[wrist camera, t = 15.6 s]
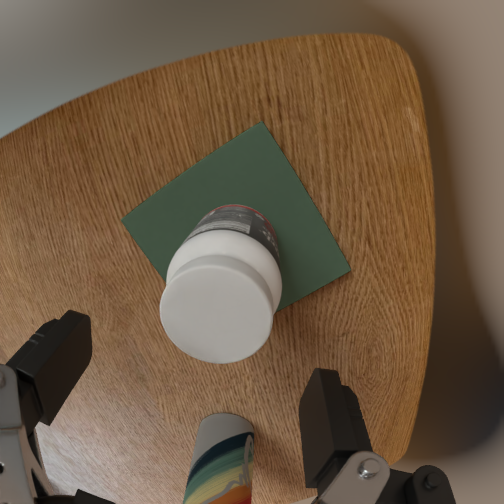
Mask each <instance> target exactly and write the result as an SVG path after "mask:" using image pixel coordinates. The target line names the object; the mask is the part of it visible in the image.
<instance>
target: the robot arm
mask: <svg viewBox="0 0 504 504" xmlns="http://www.w3.org/2000/svg"><path fill="white" fill-rule="evenodd" d="M91 357H92V337H91V321H90V317H89V316H88V315H85V314H82V313H79V312H76V311H73V310H68V311H67V312H66V313H65V314H64V315H63V316H62V317H61V318H60V319H59V320H57V319H53V320H51V321H49V322H47V323H45V324H43V325H42V326H41V327H40V328H39V329H38V330H37V331H36V332H35V334H33V335H32V336H31V337H30V338H29V341H27V342H26V343H25V344H24V345H23V346H22V347H21V348H20V349H19V350H18V351H17V352H16V353H15V354H14V356H13V357H12V358H11V359H10V360H9V361H8V362H7V363H6V364H5V365H4V364H0V504H115V503H114V502H111V501H108V500H106V499H103V498H100V497H97V496H95V495H92V494H90V493H87V492H85V491H82V490H80V489H78V490H77V492H76V494H75V496H70V495H54V492H53V489H52V487H51V485H50V482H49V480H48V477H47V475H46V471H45V468H44V464H43V460H42V456H41V451H40V447H39V443H38V438H37V433H36V429H35V427H36V425H37V423H38V422H39V421H40V422H42V423H44V424H46V425H48V426H50V425H51V423H52V421H53V420H54V418H55V416H56V415H57V413H58V412H59V410H60V408H61V407H62V405H63V404H64V402H65V400H66V399H67V397H68V396H69V394H70V392H71V391H72V389H73V388H74V386H75V385H76V383H77V382H78V380H79V379H80V377H81V375H82V374H83V372H84V371H85V369H86V368H87V366H88V365H89V363H90V360H91ZM362 417H363V416H362V412H361V410H360V406H359V403H358V399H357V396H356V395H355V394H354V393H353V391H352V390H351V389H350V388H349V386H345V385H341V381H340V377H339V374H338V372H337V371H336V370H329V369H321V368H315V369H314V371H313V373H312V375H311V377H310V380H309V382H308V384H307V386H306V388H305V391H304V393H303V395H302V397H301V400H300V404H299V422H300V432H301V441H302V451H303V462H304V472H305V483H306V488H317V492H318V496H317V497H316V498H315V499H314V500H313V502H312V503H311V504H456V502H455V499H454V496H453V493H452V490H451V487H450V484H449V481H448V478H447V476H446V475H445V474H444V472H443V471H442V470H440V469H439V468H437V467H435V466H431V465H425V466H422V467H420V468H418V469H417V470H416V471H415V472H414V473H413V474H412V473H407V472H402V471H398V470H393V469H390V468H389V465H388V463H387V462H386V460H385V459H384V458H383V457H381V456H380V455H378V454H376V453H374V452H373V450H372V446H371V443H370V439H369V436H368V432H367V429H366V426H365V422H364V419H362Z"/></svg>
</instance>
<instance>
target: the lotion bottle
mask: <svg viewBox="0 0 504 504" xmlns="http://www.w3.org/2000/svg"><path fill="white" fill-rule="evenodd" d="M253 455H254V430H253V427H252V425H251V424H250V423H249V422H248V421H247V420H246V419H244V418H242V417H240V416H237V415H234V414H228V413H218V414H213V415H210V416H208V417H206V418H204V419H203V420H202V422H201V424H200V426H199V429H198V433H197V438H196V442H195V447H194V452H193V457H192V461H191V466H190V471H189V476H188V481H187V486H186V490H185V495H184V500H183V504H251V497H252V476H253Z"/></svg>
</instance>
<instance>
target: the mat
mask: <svg viewBox="0 0 504 504" xmlns="http://www.w3.org/2000/svg"><path fill="white" fill-rule="evenodd" d="M225 205H243V206H247V207H250V208H252V209H254V210H256V211H258V212H259V213H261V214H262V215H263V216H264V217H265V218H266V219H267V220H268V221H269V222H270V224H271V225H272V227H273V229H274V231H275V234H276V237H277V242H278V250H279V259H280V269H281V278H282V292H281V298H280V302H279V305H278V307H277V309H276V311H275V312H277V311H279V310H281V309H283V308H285V307H287V306H288V305H290V304H292V303H294V302H296V301H298V300H300V299H301V298H303V297H305V296H307V295H309V294H310V293H312V292H314V291H316V290H318V289H319V288H321V287H323V286H325V285H326V284H328V283H330V282H332V281H334V280H335V279H337V278H339V277H341V276H342V275H344V274H346V273H347V272H349V271H351V268H350V266H349V264H348V263H347V261H346V259H345V257H344V255H343V253H342V252H341V250H340V248H339V246H338V244H337V243H336V241H335V239H334V237H333V235H332V234H331V232H330V230H329V228H328V227H327V225H326V223H325V221H324V220H323V218H322V216H321V214H320V213H319V211H318V209H317V208H316V206H315V204H314V203H313V201H312V199H311V197H310V196H309V194H308V192H307V191H306V189H305V188H304V186H303V184H302V183H301V181H300V179H299V178H298V176H297V174H296V173H295V171H294V170H293V168H292V166H291V165H290V163H289V162H288V160H287V158H286V157H285V155H284V154H283V152H282V151H281V149H280V147H279V146H278V144H277V143H276V141H275V140H274V138H273V137H272V135H271V134H270V132H269V130H268V129H267V127H266V126H265V124H264V123H263V122H262V121H261V122H259V123H258V124H256V125H254V126H253V127H251V128H249V129H248V130H246V131H245V132H243V133H242V134H240V135H238V136H237V137H235V138H234V139H232V140H231V141H229V142H228V143H226V144H224V145H223V146H221V147H220V148H218V149H217V150H215V151H214V152H212V153H211V154H209V155H208V156H206V157H205V158H204V159H202V160H201V161H199V162H198V163H196V164H195V165H193V166H192V167H190V168H189V169H188V170H186V171H185V172H183V173H182V174H181V175H179V176H178V177H176V178H175V179H174V180H172V181H171V182H169V183H168V184H167V185H165V186H164V187H163V188H161V189H160V190H159V191H157V192H156V193H155V194H153V195H152V196H151V197H149V198H148V199H147V200H145V201H144V202H143V203H141V204H140V205H139V206H137V207H136V208H135V209H134V210H132V211H131V212H130V213H128V214H127V215H126V216H125V217H123V218H122V219H121V221H122V223H123V224H124V226H125V227H126V229H127V230H128V231H129V233H130V234H131V236H132V237H133V238H134V240H135V241H136V243H137V244H138V245H139V247H140V248H141V250H142V251H143V252H144V254H145V255H146V256H147V258H148V259H149V261H150V262H151V263H152V265H153V266H154V267H155V269H156V270H157V271H158V273H159V274H160V275H161V277H162V278H163V279H164V281H165V282H166V278H167V271H168V268H169V265H170V262H171V260H172V258H173V256H174V255H175V253H176V251H177V250H178V249H179V247H180V246H181V245H182V244H183V242H184V241H185V240H186V238H187V237H188V236H189V235H190V233H191V232H192V231H193V230H194V228H195V227H196V226H197V225H198V223H199V222H200V221H201V219H202V218H203V217H204V216H206V215H207V214H208V213H209V212H211V211H212V210H214V209H216V208H218V207H221V206H225Z"/></svg>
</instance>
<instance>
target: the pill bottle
mask: <svg viewBox="0 0 504 504" xmlns="http://www.w3.org/2000/svg"><path fill="white" fill-rule="evenodd" d="M281 292H282V278H281V269H280V259H279V250H278V242H277V237H276V234H275V231H274V229H273V227H272V225H271V224H270V222H269V221H268V220H267V219H266V218H265V217H264V216H263V215H262V214H261V213H259V212H258V211H256V210H254V209H252V208H250V207H247V206H243V205H225V206H221V207H218V208H216V209H214V210H212V211H211V212H209V213H208V214H207V215H206V216H204V217H203V218H202V219H201V221H200V222H199V223H198V225H197V226H196V227H195V228H194V230H193V231H192V232H191V233H190V235H189V236H188V237H187V238H186V240H185V241H184V242H183V244H182V245H181V246H180V247H179V249H178V250H177V251H176V253H175V255H174V256H173V258H172V260H171V262H170V265H169V268H168V271H167V278H166V288H165V290H164V292H163V294H162V297H161V301H160V317H161V322H162V325H163V327H164V330H165V332H166V333H167V335H168V336H169V338H170V339H171V341H172V342H173V343H174V344H175V345H176V346H177V347H178V348H179V349H181V350H182V351H183V352H185V353H186V354H188V355H190V356H192V357H194V358H196V359H198V360H201V361H205V362H209V363H218V364H226V363H233V362H237V361H241V360H243V359H246V358H248V357H250V356H252V355H253V354H254V353H256V352H257V351H258V350H259V349H260V348H261V347H262V346H263V345H264V343H265V342H266V341H267V339H268V337H269V335H270V332H271V329H272V325H273V315H274V313H275V311H276V309H277V307H278V305H279V302H280V298H281Z"/></svg>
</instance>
